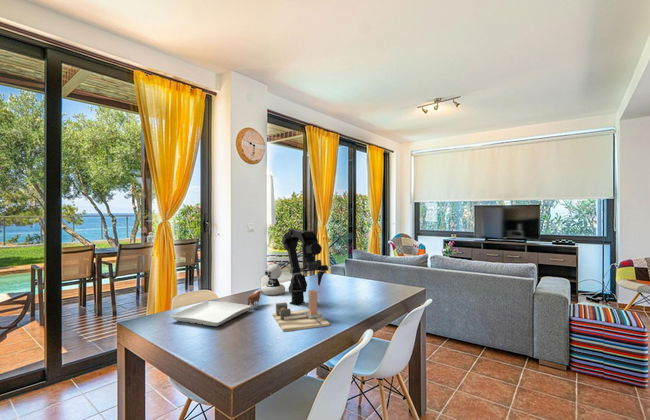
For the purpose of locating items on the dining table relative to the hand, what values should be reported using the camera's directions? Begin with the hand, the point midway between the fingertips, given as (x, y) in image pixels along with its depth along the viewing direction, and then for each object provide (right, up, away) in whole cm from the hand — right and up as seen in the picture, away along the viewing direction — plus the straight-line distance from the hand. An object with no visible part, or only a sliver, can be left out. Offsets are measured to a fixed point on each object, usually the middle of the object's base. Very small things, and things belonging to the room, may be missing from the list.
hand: (310, 286), depth 166 cm
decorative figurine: (-25, -13, +39) cm, 48 cm away
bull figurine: (-30, -13, +11) cm, 35 cm away
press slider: (-4, -11, -12) cm, 17 cm away
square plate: (-47, -14, -6) cm, 49 cm away
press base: (-4, -13, -12) cm, 18 cm away
